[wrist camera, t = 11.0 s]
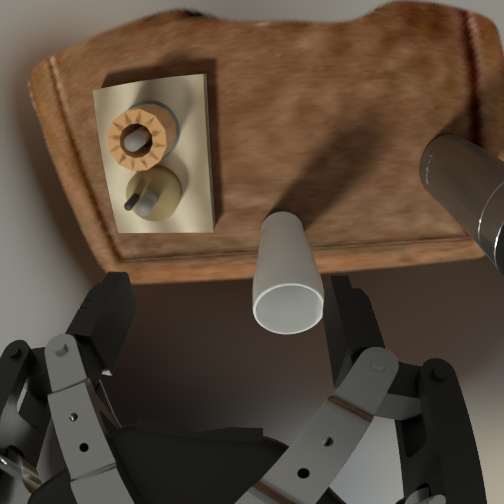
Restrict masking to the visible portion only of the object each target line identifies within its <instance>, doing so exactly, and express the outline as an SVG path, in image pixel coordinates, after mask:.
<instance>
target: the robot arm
mask: <svg viewBox="0 0 504 504" xmlns="http://www.w3.org/2000/svg"><path fill="white" fill-rule="evenodd" d="M420 177H421V181H422V184H423V185H424V187H425V189H426V190H427V191H428V192H429V193H430V194H431V195H432V196H433V197H434V198H435V199H436V200H437V201H438V202H439V203H440V204H441V205H442V206H443V207H444V208H445V209H446V210H447V211H448V213H449V214H450V215H451V216H452V217H453V218H454V219H455V220H456V221H457V222H458V223H459V224H460V225H461V226H462V227H463V228H464V230H465V231H466V232H467V233H468V234H469V235H470V236H471V237H472V239H473V240H474V241H475V242H476V243H477V244H478V245H479V247H480V248H481V249H482V250H483V251H484V252H485V253H486V255H487V256H488V257H489V258H490V260H492V262H493V263H494V264H495V265H496V267H497V268H498V269H499V271H500V272H501V273H502V275H503V276H504V161H502V160H501V159H499V158H497V157H496V156H494V155H492V154H491V153H489V152H487V151H486V150H484V149H482V148H480V147H479V146H477V145H475V144H473V143H472V142H470V141H468V140H466V139H464V138H462V137H460V136H458V135H455V134H444V135H441V136H439V137H437V138H435V139H434V140H433V141H432V142H431V143H430V144H429V145H428V146H427V148H426V149H425V151H424V153H423V155H422V159H421V162H420ZM136 309H137V304H136V298H135V295H134V292H133V289H132V286H131V282H130V279H129V276H128V274H127V273H126V272H108V273H107V275H106V276H105V278H104V280H103V281H102V283H98V284H97V285H95V286H94V287H93V288H92V289H91V290H90V291H89V292H88V294H87V296H86V298H85V299H84V301H83V303H82V304H81V306H80V309H79V310H78V311H77V313H76V315H75V317H74V319H73V320H72V322H71V324H70V326H69V328H68V329H67V331H66V333H65V334H61V335H58V336H56V337H54V338H52V339H51V340H50V341H49V342H48V344H47V346H46V347H42V348H35V349H31V348H30V347H29V345H28V344H27V343H26V342H25V341H24V340H16V341H14V342H12V343H10V344H9V345H8V346H7V347H6V348H5V350H4V352H3V354H2V356H1V357H0V504H346V503H345V502H344V501H343V500H342V499H341V498H340V497H339V496H338V495H337V494H336V493H335V492H334V491H333V490H331V488H330V487H329V485H330V484H331V483H332V481H333V480H334V478H335V477H336V476H337V474H338V473H339V472H340V470H341V469H342V467H343V466H344V464H345V463H346V461H347V460H348V458H349V457H350V455H351V454H352V452H353V451H354V449H355V448H356V446H357V445H358V443H359V441H360V440H361V438H362V437H363V435H364V433H365V432H366V430H367V428H368V427H369V425H370V423H371V422H372V420H373V417H374V416H379V417H385V418H390V419H394V420H395V426H396V433H397V439H398V447H399V454H400V462H401V471H402V480H403V492H404V498H402V499H401V500H399V501H398V502H396V504H487V500H486V493H485V487H484V481H483V475H482V470H481V465H480V460H479V455H478V451H477V446H476V442H475V438H474V434H473V430H472V426H471V422H470V418H469V415H468V411H467V408H466V405H465V401H464V398H463V394H462V391H461V388H460V385H459V382H458V379H457V376H456V373H455V370H454V369H453V367H452V366H451V365H450V364H449V363H448V362H446V361H444V360H442V359H439V358H432V359H429V360H427V361H426V362H425V363H424V364H423V365H422V367H421V366H415V365H410V364H405V363H402V362H399V361H398V360H397V358H396V357H395V355H394V354H392V352H390V351H389V350H387V349H386V348H385V345H384V342H383V339H382V335H381V333H380V330H379V326H378V323H377V320H376V318H375V314H374V311H373V310H372V306H371V303H370V300H369V297H368V296H367V295H366V294H365V293H364V292H363V291H362V290H361V289H360V288H359V289H358V288H356V289H352V286H351V283H350V280H349V277H348V276H347V275H346V276H328V279H327V285H326V290H325V296H324V301H323V309H322V316H323V323H324V329H325V335H326V341H327V347H328V353H329V359H330V365H331V371H332V378H333V385H334V388H336V387H339V388H338V389H337V390H336V392H335V393H334V395H333V396H332V397H331V396H330V397H329V398H328V399H327V400H326V401H325V403H324V404H323V405H322V406H321V408H320V409H319V410H318V412H317V413H316V415H315V416H314V417H313V418H312V420H311V421H310V422H309V423H308V425H307V426H306V427H305V429H304V430H303V431H302V433H301V434H300V435H299V436H298V437H297V439H296V440H295V441H294V442H293V443H292V444H291V446H290V447H289V446H287V445H286V444H284V443H282V442H280V441H278V440H276V439H273V438H270V437H267V436H263V428H238V427H229V428H223V429H217V430H210V431H203V432H195V431H191V430H189V429H186V428H183V427H180V426H178V425H175V424H172V423H169V422H167V421H160V420H153V419H147V418H140V417H138V419H137V423H136V425H131V426H127V427H123V428H122V427H121V426H120V424H119V422H118V421H117V419H116V417H115V415H114V413H113V410H112V408H111V405H110V403H109V401H108V398H107V396H106V393H105V391H104V388H103V386H102V383H101V381H100V377H101V375H102V374H107V375H112V374H113V371H114V368H115V366H116V363H117V360H118V357H119V355H120V352H121V350H122V347H123V344H124V342H125V339H126V337H127V334H128V331H129V328H130V327H131V324H132V322H133V319H134V317H135V314H136ZM23 387H24V388H25V389H26V390H27V392H26V394H25V397H24V399H23V402H22V405H21V407H20V410H19V413H18V412H17V408H16V407H17V402H18V399H19V397H20V394H21V391H22V389H23ZM51 415H52V418H53V422H54V425H55V429H56V433H57V436H58V440H59V443H60V446H61V449H62V452H63V455H64V458H65V461H66V464H67V467H66V468H64V469H63V470H61V471H60V472H59V473H57V474H56V475H55V476H53V477H52V478H51V479H49V480H48V481H46V482H45V483H44V484H42V481H41V480H40V479H39V474H38V471H37V469H36V467H37V463H38V459H39V456H40V452H41V448H42V445H43V441H44V438H45V435H46V431H47V428H48V425H49V422H50V418H51Z"/></svg>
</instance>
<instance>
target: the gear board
mask: <svg viewBox="0 0 504 504" xmlns="http://www.w3.org/2000/svg"><path fill="white" fill-rule="evenodd" d="M93 95H94V104H95V112H96V120H97V127H98V134H99V140H100V147H101V153H102V158H103V164H104V169H105V175H106V180H107V185H108V190H109V194H110V199H111V203H112V208H113V212H114V217H115V221H116V225H117V229H118V233H171V232H214V229H215V225H216V223H215V210H214V196H213V182H212V168H211V152H210V135H209V116H208V96H207V74H195V75H184V76H175V77H166V78H158V79H151V80H144V81H138V82H132V83H126V84H121V85H115V86H110V87H105V88H101V89H97V90H93ZM153 103H154V104H156V105H158V106H160V107H162V108H165V109H167V110H168V112H169V113H170V115H171V116H172V117H173V119H174V120H175V122H176V133H177V138H176V140H175V142H174V144H173V146H172V148H171V150H170V151H169V152H168V153H167V154H166V155H165V156H164V157H163V159H162V160H161V161H160V162H158V163H157V164H155V165H154V166H152V167H151V168H150V169H148V170H140V171H131V170H129V169H127V168H125V167H123V166H121V165H119V164H118V163H117V162H116V160H115V159H114V158H113V156H112V155H111V154H110V152H109V147H108V140H107V135H108V132H109V129H110V126H111V124H112V121H113V120H115V119H116V118H117V117H118V116H119V115H121V114H122V113H123V112H124V111H126V110H129V109H131V108H133V107H136V106H138V105H145V104H153ZM124 145H125V148H126V149H127V150H129V151H131V152H134V151H137V150H138V149H139V148H141V147H142V146H145V147H152V145H153V140H152V134H151V133H150V131H149V130H148V128H147V127H146V126H143V125H141V124H139V123H136V125H135V127H134V132H132V133H131V134H129V135H128V136H126V138H125V140H124Z"/></svg>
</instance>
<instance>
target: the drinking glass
mask: <svg viewBox="0 0 504 504" xmlns="http://www.w3.org/2000/svg"><path fill="white" fill-rule="evenodd" d="M323 301H324V291H323V285H322V281H321V277H320V273H319V270H318V267H317V265H316V262H315V259H314V257H313V254H312V252H311V249H310V246H309V244H308V241H307V238H306V236H305V233H304V230H303V225H302V223H301V221H300V220H299V218H298V217H297V216H295V215H294V214H292V213H290V212H285V211H280V212H275V213H273V214H271V215H269V216H268V217H267V218H266V219H265V220H264V222H263V224H262V227H261V239H260V245H259V251H258V257H257V262H256V268H255V274H254V282H253V313H254V316H255V319H256V320H257V321H258V323H259V324H260V325H261V326H262V327H264V328H265V329H267V330H269V331H272V332H275V333H280V334H294V333H299V332H302V331H305V330H308V329H309V328H311V327H312V326H314V325H316V324H317V323H318V322H319V321H320V319H321V318H322V309H323Z"/></svg>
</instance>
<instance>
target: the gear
mask: <svg viewBox="0 0 504 504" xmlns="http://www.w3.org/2000/svg"><path fill="white" fill-rule="evenodd" d="M136 123H139V124H141V125H143V126H146V127H147V128H148V130H149V131H150V133H151V134H152V140H153V145H152V147H145V146H142V147H141V148H139V149H138V150H137V151H134V152H131V151H129V150H127V149H126V148H125V145H124V140H125V138H126V136H128V135H129V134H131V133H132V132H134V127H135V125H136ZM176 138H177V133H176V122H175V120H174V119H173V117H172V116H171V115H170V113H169V112H168V110H167V109H165V108H162V107H160V106H158V105H156V104H154V103H153V104H145V105H138V106H136V107H133V108H131V109H129V110H126V111H124V112H123V113H122V114H121V115H119V116H118V117H117V118H116V119H115V120H113V121H112V124H111V126H110V129H109V132H108V135H107V140H108V147H109V152H110V154H111V155H112V156H113V158H114V159H115V160H116V162H117V163H118V164H119V165H121V166H123V167H125V168H127V169H129V170H131V171H140V170H148V169H150V168H151V167H152V166H154V165H155V164H157V163H158V162H160V161H161V160H162V159H163V157H164V156H165V155H166V154H167V153H168V152H169V151H170V150H171V148H172V146H173V144H174V142H175V140H176Z"/></svg>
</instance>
